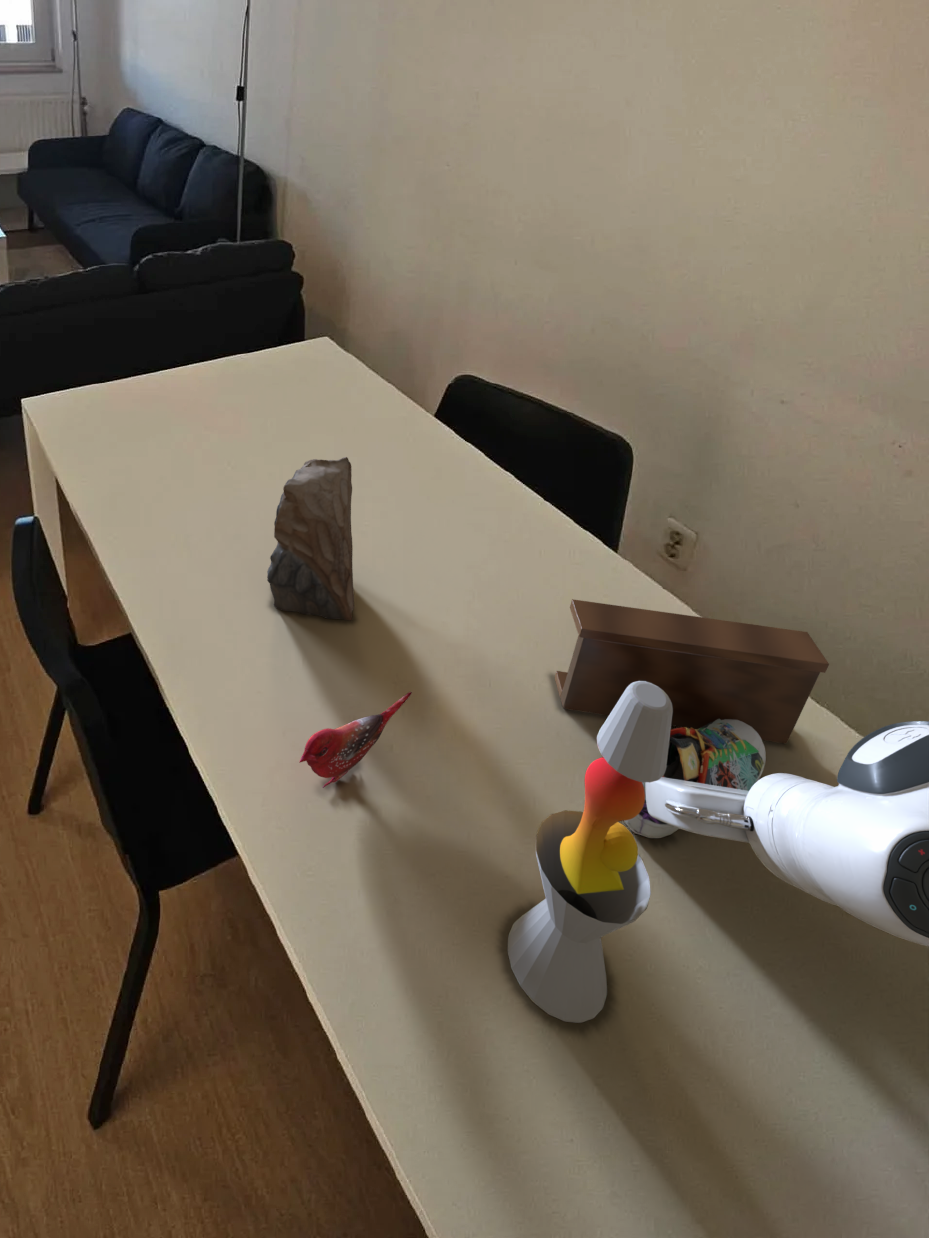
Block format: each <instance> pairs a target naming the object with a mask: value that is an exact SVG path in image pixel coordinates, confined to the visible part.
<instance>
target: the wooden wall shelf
mask: <svg viewBox="0 0 929 1238" xmlns="http://www.w3.org/2000/svg"><path fill="white" fill-rule="evenodd" d="M569 605H570V606H569V609H570V613H571V616H572V619H573V622H574V625H575V628H576V631H577V634H578V635H577V639H576V641H575V646H574V649H573V653H572V657H571V659H570V663H569V665H568V669H567V671H562V670H556V671H555V674H554V681H555V684H556V688H557V691H558V696H559V698H560V699H559V700H560V702H561V707H562V709H564V710H571V711H576V712H584V713H589V714H597V715H603V716H607V717H608V716H609V715H610V713H611V712H612V710H613V708H614V707H615V705H616V704H617V702H618V701H619V699H620V698H621V696H622V694H623V693H624V691H625V690H626V688H627V687H628V686H629V685H630V684H631V683H633V682H636V681H646V682H649V683H652V684H654V685H656V686H658V687H659V688H661V689H662V690H663V691H664V692H665V693H666V694H667V695H668V697H669V699H670V700H671V703H672V708H673V713H672V722H671V727H672V726H673V727H676V728H681V727H687V728H688V729H690V728H691V727H692V728H693V729H699V728H701V727H703V726H705V725H707V724H708V723H710V722H714V721H715V720H717V719H720V720H724V719H732V720H739V721H742V722H744V723H746V724H747V725H749V726H751V727H752V728H753V729H754V730H755V731H756V732H757V733H758V734H759V736H760V737H761V739H762V741H766V742H767V741H768V742H773V743H780V744H784V745H785V744H788V741H789V739H790V738H791V736H792V733H793V731H794V729H795V728H796V727H795V726H796V725H797V723H798V721H799V718H800V716H801V714H802V712H803V710H804V708H805V706H806V703H807V702H808V700H809V698H810V695H811V693H812V691H813V689H814V686H815V684H816V682H817V680H818V678H819V676H820V673H823V674H824V673H825V674H826V672H827V670H828V669H829V666H830V663H829V662H828V660H827V659H826V657H825V656H824V654H823V653H822V651H821V650H820V649H819V647H818V646H817V644H816V642H815V640H813V638H812V637H811V635H810V633H809V632H808V631H804V630H796V629H789V628H781V627H775V626H768V625H767V626H766V625H761V624H753V623H746V622H738V621H732V620H731V621H730V620H724V619H717V618H711V617H710V618H709V617H702V616H695V615H687V614H682V613H681V614H680V613H673V612H666V611H660V610H651V609H645V608H638V607H631V606H624V605H616V604H609V603H602V602H595V601H588V600H587V601H586V600H581V599H579V600H578V599H575V598H574V599H573V598H572V599H571V602H570V604H569Z"/></svg>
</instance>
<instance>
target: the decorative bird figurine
mask: <svg viewBox="0 0 929 1238" xmlns="http://www.w3.org/2000/svg"><path fill="white" fill-rule="evenodd" d="M412 694H413V691H409V692H407V693H406V694H405V695H403V696H402V697H401V698H399V699H398V700H397V701H395V702H394V703H393V704H391V705H390V706H389V707H388V708H387V709H385V710H384V711H382V712H381V713H379V714H372V715H368V716H364V717H360V718H357V719H355V720H353V721H351V722H348V723H346V724H344V725H341V726H339V727H336V728H323V729H320V730H318V731H316V732H315V733H313V734H312V735H311V736H310V737H309V738H308V740H307V741H306V743H305V746H304V750H303V753H302V755H301V756H300V759H299V763H300V764H301V763H303V762H306V764H307V765H308V766H309V767H310V769H311V771H312V772H313V773H314V774H316V775H317V776H318V777H320V778H325V779H330V780H329V781H327V782H326V783H324V785H323V786H322V789H324V788H325V787H328V786H329V785H331V784H332V783H337V782H338V781H339V780H340V779H342V778H343V777H344V776H345V775H346V774H347V773H348V772H349V771H350V770H351V769H353V768H354V767H355V766H356V765H358V764H359V763H360V762H361V761H362V760H363V758H365V756H366V755H367V754H368V752H369V751H370V750H371V748H372V747H373V746H374V745H375V744H376V742H377V741H378V740H379V738H380V737H381V735H382V733H383V731H384V730H385V728H386V725H387V724H388V723H389V721H390V719H392V717H394V715H395V714H396V713H397V712H398V710H399V709H400V708H401V707H402V706H403V705H404V704H405V703H406V701H408V699H409V698H410V697H411V695H412Z"/></svg>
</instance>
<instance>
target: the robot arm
mask: <svg viewBox="0 0 929 1238" xmlns="http://www.w3.org/2000/svg"><path fill="white" fill-rule="evenodd" d="M836 782H837V783H838V785H837V786H833V785H829V784H827V783H823V782H820V781H817V780H813V779H810V778H805V777H803V776H800V775H796V774H792V773H786V772H784V773H783V772H778V773H772V774H768V775H765V776H763V777H760V778H759V780H758V781H757V782H756V783H755V784H754V785H753V786H752V787H751V789H750V790H749V791H747V790H740V789H734V788H728V787H722V786H715V785H709V784H703V783H696V782H690V781H684V780H677V779H671V778H665V777H661V778H660V779H659V780H657V781H654V782H650V783H649V782H646V785H645V790H646V804H647V810H648V813H649V814H650V815H651V816H652V817H653V818H655V819H657V820H660V821H662V822H664V823H667V824H669V825H672V826H674V827H677V828H679V830H683V831H685V832H689V833H692V834H696V835H701V836H706V837H711V838H716V839H717V838H718V839H722V840H723V839H724V840H728V841H729V840H730V841H735V842H742V843H747V844H749V845H750V847H751V849H752V851H753V852H754V854H755V856H756V858H757V859H758V860H759V861H760V863H762V865H763V866H764V867H765V868H766V869H767V870H768V871H769V872H770V873H772V874H773V876H775V877H776V878H778V879H780V880H781V881H783V882H785V883H786V884H789V885H791V886H793V887H794V888H797V889H798V890H801V891H802V892H804V893H806V894H808V895H810V896H812V897H814V898H816V899H818V900H820V901H822V902H825V903H827V904H830V905H834V906H838V907H839V908H840V909H841V910H842V911H844V912H845V913H847V914H849V915H850V916H852V917H854V918H856V919H857V920H860V921H862V922H863V923H865V924H868V925H870V926H871V927H874V928H876V929H878V930H880V931H882V932H885V933H887V934H888V935H892V936H894V937H896V938H899V939H902V940H905V941H908V942H910V943H914V944H917V945H921V946H925V947H929V720H928V721H927V720H911V721H901V722H896V723H891V724H888V725H885V726H882V727H880V728H878V729H876V730H874V731H872V732H870V733H869V734H867V735H865V736H864V737H863V738H861V739H860V740H858V741H857V742H856V743H855V744H854V745H853V746H852V747H851V748H850V750H849V751H848V752H847V754H846V756H845V758H844V759H843V761H842V764H841V765H840V768H839V770H838V774H837V777H836Z"/></svg>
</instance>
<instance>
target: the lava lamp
mask: <svg viewBox="0 0 929 1238" xmlns="http://www.w3.org/2000/svg"><path fill="white" fill-rule="evenodd" d="M672 713H673V708H672V703H671V700H670V699H669V697H668V695H667V694H666V693H665V692H664V691H663V690H662V689H661V688H659V687H658V686H656V685H654V684H652V683H649V682H646V681H636V682H633V683H631V684H630V685H629V686H628V687H627V688H626V690H625V691H624V693H623V694H622V696H621V698H620V699H619V701H618V702H617V704H616V705H615V707H614V708H613V710H612V712H611V713H610V715H609V716H608V715H607V718H606V720H605V721H604V723H603V724H602V725H601V727H600V728H599V731H598V733H597V735H596V746H597V749H598V750H599V753H600V755H601V756H602V757H599V758H595V760H593V761H592V762H590V764H589V765H588V767H587V768H586V771H585V774H584V807H583V811H580V810H579V811H578V810H561V811H558V812H554V813H551V814H550V815H549V816H547V818H546V817H545V819H544V820H542V821H541V823H540V826H539V827H538V830H537V832H536V835H535V856H536V862H537V865H538V870H539V875H540V879H541V884H542V888H543V892H544V896H545V898H544V899H543V900H542V901H539V902H538V903H537V904H536V905H534V906H533V907H532V908H530V909H529V910H528V911H526V912H525V913H523V914H522V915H521V916H520V917H519V918H518V919H516V920H515V921H514V923H513V924H512V925H511V929H510V931H509V933H508V935H507V955H508V958H509V959H508V960H509V964H510V968H511V971H512V972H513V974H514V977H515V978H516V981H517V983H518V985H519V986H520V988H521V989H522V990H523V991H524V993H525V995H527V997H528V998H529V999H530V1000H531V1002H532V1003H534V1004H535V1005H536V1006H537V1007H539V1008H540V1009H541V1010H542V1011H544V1012H545V1013H546V1014H547V1015H549V1016H551V1017H554V1018H557V1019H558V1020H560V1021H563V1022H568V1023H576V1024H577V1023H578V1024H581V1023H584V1022H587V1021H590V1020H593V1019H594V1018H595V1017H596V1016H597V1015H598V1014H599V1013H600V1012H601V1011H602V1010H603V1009H604V1007H605V1003H606V999H607V996H608V985H607V984H608V983H607V973H606V971H607V970H606V966H605V958H604V950H603V944H602V937H604V936H606V935H609V934H611V933H613V932H616V931H618V930H619V929H622V928H623V927H627V926H628V925H631V924H632V923H634V922H636V921H637V920H638V919H639V918H640V917H641V915H643V914H644V912H646V910H647V909H648V906H649V901H650V898H651V895H652V894H651V882H650V876H649V874H648V871H647V868H646V867H645V864H644V862H643V859H642V857H641V856H640V854H639V849H638V848H639V847H638V843H637V841H636V839H635V836H634V835H633V834H632V831H631V830H630V829H629V828H628V827H626V826H625V825H624V824H622V823H621V822H622V821H623V822H624V820H629V819H632V818H634V817H636V816H637V815H638V814H639V813H640V811H641V810H642V808H643V806H644V802H645V791H644V787H643V784H642V782H649V783H650V782H654V781H657V780H659V779H660V778H661V777H662V776H664V773H665V770H666V766H667V757H668V748H669V739H670V731H671V730H672V726H671V722H672Z"/></svg>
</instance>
